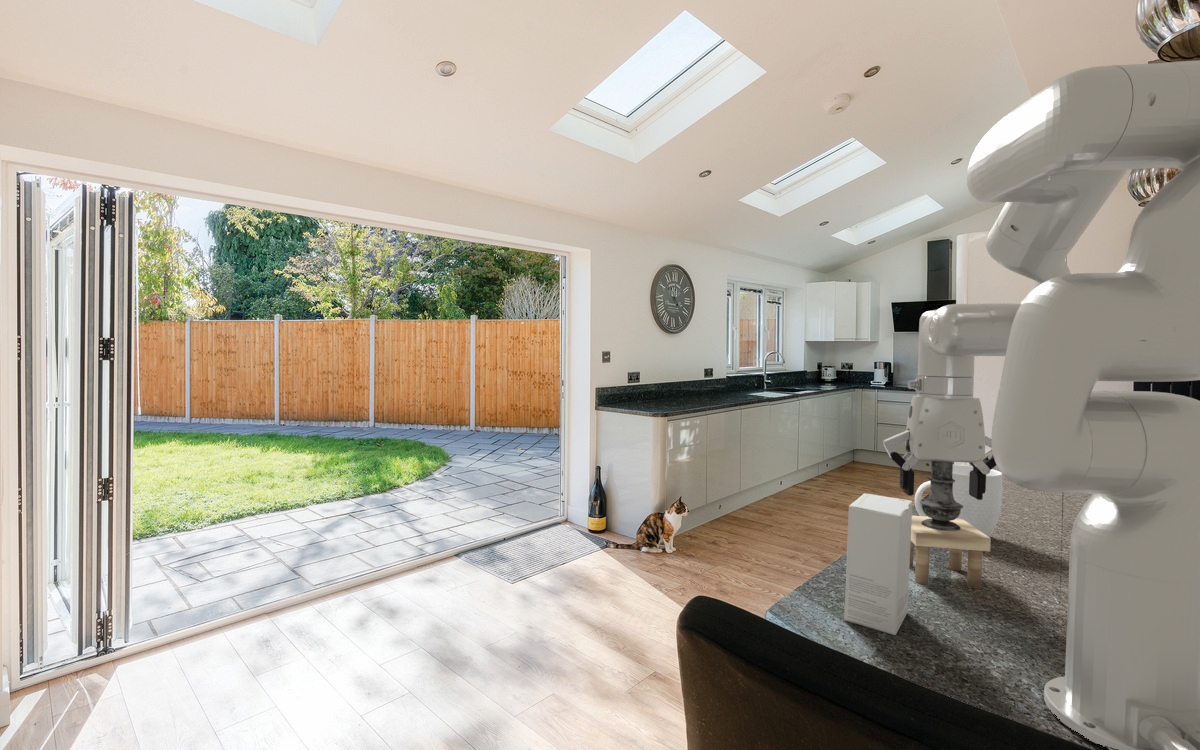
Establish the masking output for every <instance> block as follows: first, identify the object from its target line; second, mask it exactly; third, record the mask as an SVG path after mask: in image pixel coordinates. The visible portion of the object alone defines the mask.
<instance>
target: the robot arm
mask: <svg viewBox="0 0 1200 750" xmlns="http://www.w3.org/2000/svg"><path fill="white" fill-rule="evenodd" d="M968 162H969V163H968V166H967V170H966V186H967V189H968V191H969V194H971V196H972V197H973V198H974V199H975V200H976V201H979V202H983V203H991V204H992V203H994V204H995V203H1004V206H1003V207H1002V209H1001V211H1000V213H999V215H998V216H997V218H996V220H995V222H994V224H993V225H992V228H991V229H990V231H989V233H988V234H987V236H986V240H985V247H986V251H987V253H988V255H989V256H990V258H992V259H993V260H994V261H995V262H996V263H998V264H999V265H1000V266H1002V267H1004V268H1005V269H1007V270H1009V271H1011V272H1013V273H1016V274H1018V275H1021V276H1023V277H1025V278H1028V279H1031V280H1033V281H1035V282H1034V284H1033V286H1032V287H1031V289H1030V290H1029V292H1028V293H1027V294H1026V296H1025V297H1024V299H1023V300H1022V301H1021V302H1019V303H1010V302H1009V303H993V302H992V303H987V302H986V303H952V304H946V305H943V306H941V307H940V308H937V309H933V310H927V311H925V312H923V313H922V314H921V316H920V318H919V322H918V323H919V324H918V325H919V326H918V353H917V354H918V357H917V361H918V362H917V376H915V379H912V380H910V379H909V380H908V381H907V388H908V389H909V390H910V389H913V390H915V393H916V395H912V398H911V400H910V405H909V410H908V415H907V421H906V422H907V423H906V427H905V428H906V430H904V431H902V432H899V433H897V434H895V435H893V436H890V437H888V438H886V439H884V440H882V445H883V447H884V450H885V451H886V453H887V455H888V457H889V458H890V459H891V460H892V461H893V462H894V463H895V464H896V465H897V466H898V467H899V471H900V472H899V488H900V489H902V491H903V492H904V494H906V495H907V496H908V497H909V496H911V497H912V496H915V493H914V492H915V490H914V489H915V471H914V470H912V467H913V466H915V465H916V464H917V463H918V462H919V461H921V460H922V461H928V462H929V461H931V462H932V461H945V462H953V463H968V464H969V466H972V467H973V470H971V472H970V475H969V495H971V496H972V497H974V498H976V499H978V500H982V499H983V493H985V491H986V474H989V473H990V470H991V469H993V468H996V467H997V468H998V471H999V472H1001V473H1002V476H1004V478H1006V480H1008V481H1009V482H1011V483H1013V484H1014V485H1016V486H1018V487H1021V488H1024V489H1028V490H1032V491H1037V492H1038V491H1039V492H1049V493H1051V492H1052V493H1070V494H1071V493H1072V494H1073V493H1075V494H1091V495H1090V497H1088V499H1087V501H1086V502H1085V503H1084V505H1083V506H1081V509H1080V510H1079V512H1078V514H1077V516H1076V518H1075V520H1074V523H1073V527H1072V529H1071V535H1070V547H1069V550H1070V551H1069V567H1068V569H1069V570H1068V571H1069V572H1068V588H1067V589H1068V590H1067V591H1068V592H1067V613H1066V614H1067V616H1066V639H1065V641H1066V643H1065V644H1066V645H1065V665H1064V666H1065V667H1064V668H1065V669H1064V675H1063V676H1058V677H1055V678H1052V679H1050V680H1049V681H1048V682H1046V683H1045V685H1044V689H1043V690H1044V691H1043V693H1044V694H1043V699H1044V700H1043V701H1044V702H1045V704H1046V707H1047V708H1048V710H1049V711H1050V710H1051V711H1050V712H1051V713H1052V714H1053V715H1054V714H1055V715H1056V716H1057V717H1056V716H1055V715H1054V716H1055V717H1056V718H1057V719H1058V720H1059V719H1060V720H1059V721H1060V722H1061V723H1062V724H1064V725H1065V726H1066V727H1067V728H1069V729H1070V728H1071V729H1070V730H1072V731H1073V730H1074V731H1073V732H1075V731H1076V732H1078V733H1080V734H1081V735H1083V736H1085V737H1084V739H1086V738H1087V739H1086V740H1088V739H1089V740H1088V741H1090V742H1092V743H1094V744H1096V745H1097V744H1100V745H1103V746H1108V747H1112V748H1114V749H1119V750H1200V400H1198V399H1196V398H1194V397H1189V396H1186V395H1181V394H1175V393H1169V392H1162V391H1161V392H1160V391H1148V390H1147V391H1146V390H1145V391H1142V390H1141V391H1139V390H1138V391H1137V390H1136V391H1135V390H1133V391H1131V390H1093V389H1094V387H1095V385H1096V383H1097V382H1141V383H1142V382H1143V383H1144V382H1146V383H1147V382H1151V383H1152V382H1154V383H1155V382H1160V383H1162V382H1163V383H1164V382H1166V383H1167V382H1191V381H1192V382H1193V381H1200V60H1185V61H1184V60H1182V61H1172V62H1157V63H1136V64H1115V65H1114V64H1113V65H1103V66H1092V67H1087V68H1082V69H1078V70H1075V71H1073V72H1069V73H1068V74H1065V75H1062V76H1061V77H1058V78H1057V79H1056V80H1054V81H1052V82H1051V83H1049V84H1048V85H1046V86H1045V87H1043V88H1042V89H1041V90H1039V91H1037V93H1035V94H1034V95H1032V96H1031V97H1030V98H1028V99H1026V100H1025V101H1024V102H1023V103H1021V104H1020V105H1018V106H1017V107H1015V108H1013V110H1011V111H1009V113H1007V114H1005V115H1004V116H1002V118H1001V119H999V120H998V121H997V122H996V123H995V124H994V125H993V126H992V127H991V128H989V130H988V131H987V132H986V134H984V135H983V137H982V138H981V140H980V141H979V143H978V144H977V145H976V147H975V149H974V151H973V153H972V156H971V157H970V160H969V161H968ZM1145 169H1146V170H1147V169H1178V170H1181V171H1180V172H1178V173H1177V174H1176V175H1174V176H1173V178H1171V179H1170V180H1169V181H1167V182H1166V183H1165V184H1164V185H1163V186H1162V187H1161V188H1160V189H1159V190H1158V191H1157V192H1156V193H1155V194H1154V196H1153V197H1152V198H1151V199H1150V200H1149V201H1148V202H1147V204H1145V206H1144V207H1143V209H1141V211H1140V213H1139V214H1138V216H1137V217H1136V218H1135V221H1134V223H1133V227H1132V229H1131V233H1130V239H1129V243H1128V246H1127V247H1128V248H1127V250H1126V254H1125V257H1124V260H1123V263H1122V265H1121V268H1120V269H1119V270H1118V271H1116V272H1084V273H1083V272H1081V273H1078V272H1077V273H1071V271H1070V268H1069V266H1068V264H1067V262H1066V258H1067V257H1068V255H1069V253H1070V252H1071V251H1072V249H1073V248H1074V247H1075V245H1076V244H1077V242H1078V241H1079V239H1080V238H1081V236H1082V235H1083V234H1084V233H1085V231H1086V230H1087V228H1088V226H1089V225H1090V224H1091V222H1092V221H1093V220H1094V218H1095V217H1096V215H1098V213H1099V211H1100V210H1101V208H1102V207H1103V206H1104V205H1105V203H1106V201H1107V200H1108V199H1109V197H1110V195H1111V194H1112V193H1113V192H1114V190H1115V188H1116V187H1117V186H1118V184H1119V183H1120V181H1122V179H1123V177H1124V176H1125V175H1126V172H1127V171H1128V170H1131V171H1132V170H1145ZM975 357H1004V363H1003V367H1002V372H1001V378H1000V382H999V389H998V393H997V397H996V404H995V406H994V407H995V408H994V414H993V418H992V419H993V420H992V426H991V438H990V437H988V436H986V434H985V433H986V432H985V423H984V416H983V415H984V414H983V408H982V403H981V399H980V398H979V397H974V388H975V387H974V386H975V385H974V379H975ZM902 443H905V444H904V447H905V451H906V453H905V454H904V455H903V456H901V455H900V453H898V451H897V448H896V446H898V445H900V444H902ZM986 447H988V448H989V449H990V450H991V451H990V453H989V455H987V456H986V457H985V455H986ZM1076 732H1075V733H1076ZM1078 733H1077V734H1078ZM1080 734H1079V735H1080ZM1081 735H1080V736H1081ZM1083 736H1082V737H1083Z"/></svg>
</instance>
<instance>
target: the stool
mask: <svg viewBox="0 0 1200 750" xmlns="http://www.w3.org/2000/svg"><path fill="white" fill-rule="evenodd" d="M926 519H932V518H930V517H927V515H926V516H920V515H912V522H911V543H910V564H909V568H911V567H915V572H914V574H915V575H914V581H915V582H916V583H918V584H921V585H929V583H930V582H929V581H930V580H929V578H930V548H938V549H939V548H941V549H942V548H943V549H948V569H950V570H952V571H956V572H961V571H962V565H963V561H962V560H963V550H964V551H965V550H966V551H967V572H966V574H967V575H966V577H967V578H966V586H967V587H968V588H971V589H975V590H980V589H981V590H982V582H983V580H982V578H983V577H982V575H983V554H984V553H983V552H991V542H992V541H991V539H992V538H991V537H990V536H989V537H988V536H987V535H985V534H984V533H982V532H981V531H979V530H978V529H977V528H975V527H974V526H972V525H971V524H969V523H968V522H966V521H965V520H963V519H957V518H956V519H955V520H951V522H954V523H956V524H957V525H958V526H960V530H957V531H945V530H937V529H932V528H929V527H926V526H924V525H922V524H921V522H922V521H924V520H926ZM914 549H915V566H914Z"/></svg>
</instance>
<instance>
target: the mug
mask: <svg viewBox="0 0 1200 750" xmlns="http://www.w3.org/2000/svg"><path fill="white" fill-rule="evenodd" d="M971 470H973V467H972V466H971V465H970V464H969V465H968V464H954V463H953V473H952V479H954V480H955V482H954V483H953V497H954V500H955V501H956V502H957V503H960V504H962V505H963V508H962V509H961V512H960V514H959V516H958V517H957V519H963V520H965V521H966V522H968V523H969V524H971V525H972V526H974V527H975V528H977V529H978V530H979V531H981V532H982V533H984V534H985V535H987V536H988V537H990V536H991V535H992V533H994V531H995V529H996V527H997V524H998V522H999V520H1000V515H1001V512H1002V511H1001V510H1002V501H1003V487H1004V486H1003V474H1002V473H1001V472H1000V470H996V469H993V468H992V469H991V470H990V473H989V474H986V491H985V493H983V499H982V500H978V499H976V498H974V497H972V496H971V495H969V475H970V472H971ZM930 483H931V481H930V480H928V481H925V482H923V483H922V484H920V485H919V487H918V488H917V489H916V491H915V493H914V506H915V510H916V513H917V514H918V516H927V515H926V514H925V513H924V511H923V509H922V504H921V503H920V500H922V496H923V493H924V492H925V490H926V489H927V490H928V488H930ZM927 517H928V516H927Z"/></svg>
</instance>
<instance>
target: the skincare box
mask: <svg viewBox="0 0 1200 750" xmlns="http://www.w3.org/2000/svg"><path fill="white" fill-rule="evenodd" d="M912 516H913V501H912V500H909V499H903V498H897V497H889V496H886V495H885V496H884V495H878V494H871V493H863V494H862V495H861V496H859V497H858V498H857V499H856V500H855V501H853V502H852V503H850V504H849V505H848V520H847V545H846V568H845V569H846V570H845V571H846V572H845V589H844V590H845V591H844V593H845V595H844V611H843V613H844V614H843V619H844V621H846V622H849V623H853V624H856V625H860V626H863V627H865V628H870V629H873V630H876V631H879V632H883V633H886V634H890V635H892V636H896V635H897V633H898V631H899V629H900V627H901V626H902V624H903V622H904V620H905V618H906V617H907V614H908V611H909V609H908V605H909V603H908V602H909V600H908V599H909V582H910V579H909V578H910V567H909V564H910V543H911V522H912Z"/></svg>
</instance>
